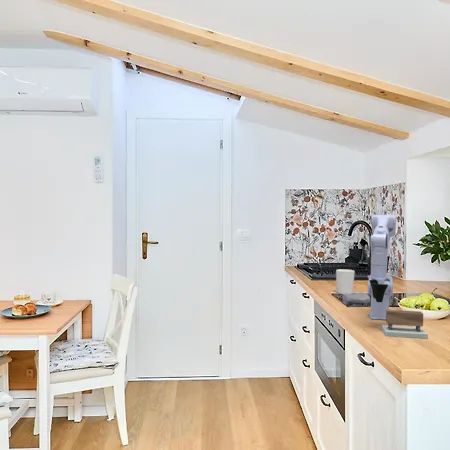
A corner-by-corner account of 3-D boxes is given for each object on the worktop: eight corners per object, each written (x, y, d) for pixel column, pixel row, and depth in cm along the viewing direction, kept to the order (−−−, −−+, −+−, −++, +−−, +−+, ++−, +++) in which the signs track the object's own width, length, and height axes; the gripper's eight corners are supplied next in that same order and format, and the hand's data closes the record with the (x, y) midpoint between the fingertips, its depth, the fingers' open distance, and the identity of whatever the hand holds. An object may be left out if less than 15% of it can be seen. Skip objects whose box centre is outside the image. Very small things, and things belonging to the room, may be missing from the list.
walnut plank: (385, 321, 176) (386, 309, 176) (420, 323, 174) (420, 311, 174) (387, 324, 172) (388, 311, 172) (422, 326, 170) (423, 313, 170)
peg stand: (381, 329, 180) (381, 319, 179) (421, 331, 177) (421, 322, 177) (385, 336, 170) (386, 326, 170) (427, 338, 167) (427, 328, 167)
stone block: (372, 307, 230) (364, 299, 239) (372, 297, 229) (365, 290, 238) (347, 308, 229) (341, 300, 238) (348, 298, 228) (341, 291, 237)
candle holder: (331, 292, 257) (332, 270, 257) (341, 290, 265) (341, 268, 264) (348, 295, 251) (349, 272, 250) (357, 292, 258) (358, 270, 258)
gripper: (365, 262, 192) (364, 296, 192) (370, 266, 177) (369, 303, 178) (384, 263, 190) (383, 297, 191) (390, 267, 176) (389, 304, 177)
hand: (377, 300), depth 184 cm, fingers open, 7 cm apart
